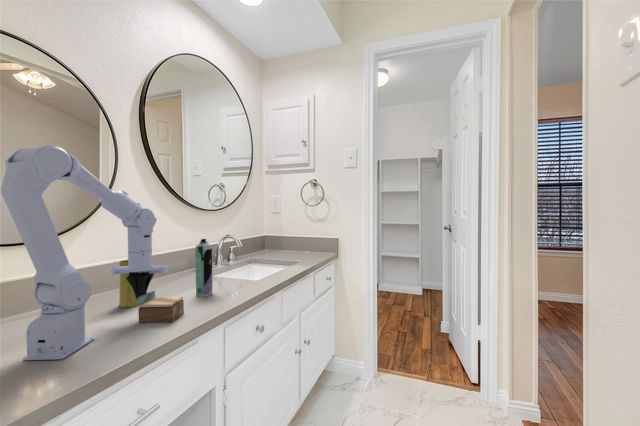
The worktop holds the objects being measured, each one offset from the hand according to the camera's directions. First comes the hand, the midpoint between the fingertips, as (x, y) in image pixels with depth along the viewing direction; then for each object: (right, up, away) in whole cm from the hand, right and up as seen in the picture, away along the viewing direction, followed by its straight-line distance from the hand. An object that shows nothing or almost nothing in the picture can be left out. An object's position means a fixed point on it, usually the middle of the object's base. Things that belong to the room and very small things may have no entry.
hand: (141, 299), depth 82 cm
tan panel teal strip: (+6, -1, 0) cm, 6 cm away
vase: (-11, -6, +12) cm, 17 cm away
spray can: (+9, -5, +22) cm, 25 cm away
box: (+6, -5, 0) cm, 8 cm away
